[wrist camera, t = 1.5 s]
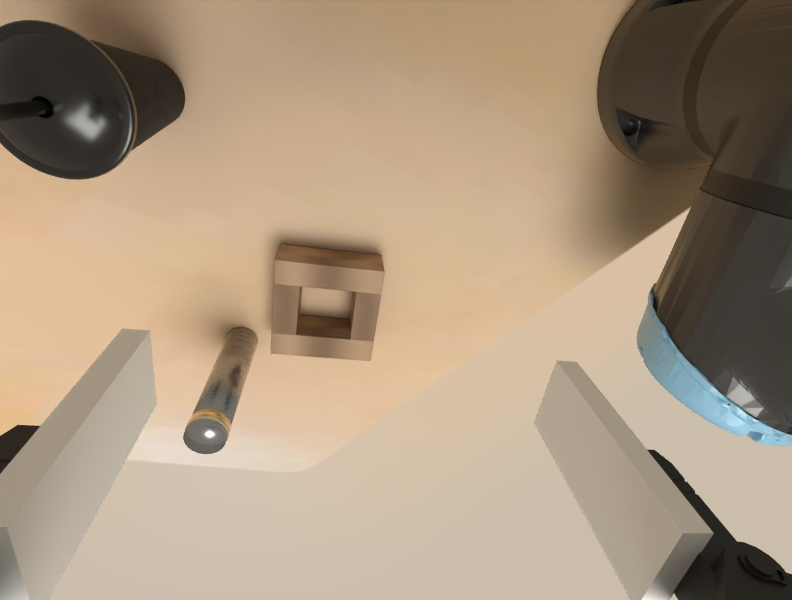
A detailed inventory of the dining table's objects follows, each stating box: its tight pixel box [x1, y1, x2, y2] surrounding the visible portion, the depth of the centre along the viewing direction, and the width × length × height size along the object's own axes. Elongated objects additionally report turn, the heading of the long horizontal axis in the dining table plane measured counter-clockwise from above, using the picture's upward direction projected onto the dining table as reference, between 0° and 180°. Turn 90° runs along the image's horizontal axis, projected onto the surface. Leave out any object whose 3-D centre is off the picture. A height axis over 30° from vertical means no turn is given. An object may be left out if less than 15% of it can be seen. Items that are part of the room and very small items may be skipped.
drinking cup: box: [0, 20, 185, 180], centre depth 27 cm, size 8×8×20 cm
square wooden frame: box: [271, 244, 384, 361], centre depth 44 cm, size 9×9×4 cm
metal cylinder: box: [183, 327, 258, 454], centre depth 40 cm, size 3×3×14 cm
